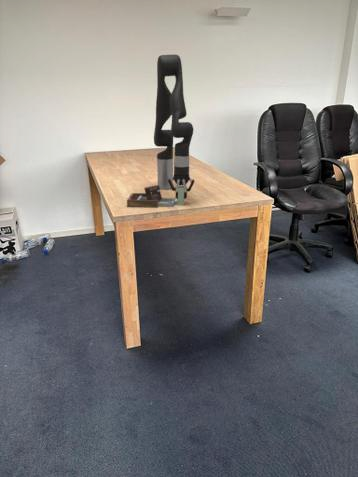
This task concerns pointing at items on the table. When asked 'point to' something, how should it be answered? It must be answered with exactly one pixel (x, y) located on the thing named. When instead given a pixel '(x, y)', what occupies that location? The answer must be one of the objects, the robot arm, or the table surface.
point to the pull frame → (170, 200)
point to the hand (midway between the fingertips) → (181, 198)
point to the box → (153, 192)
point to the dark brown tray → (141, 201)
